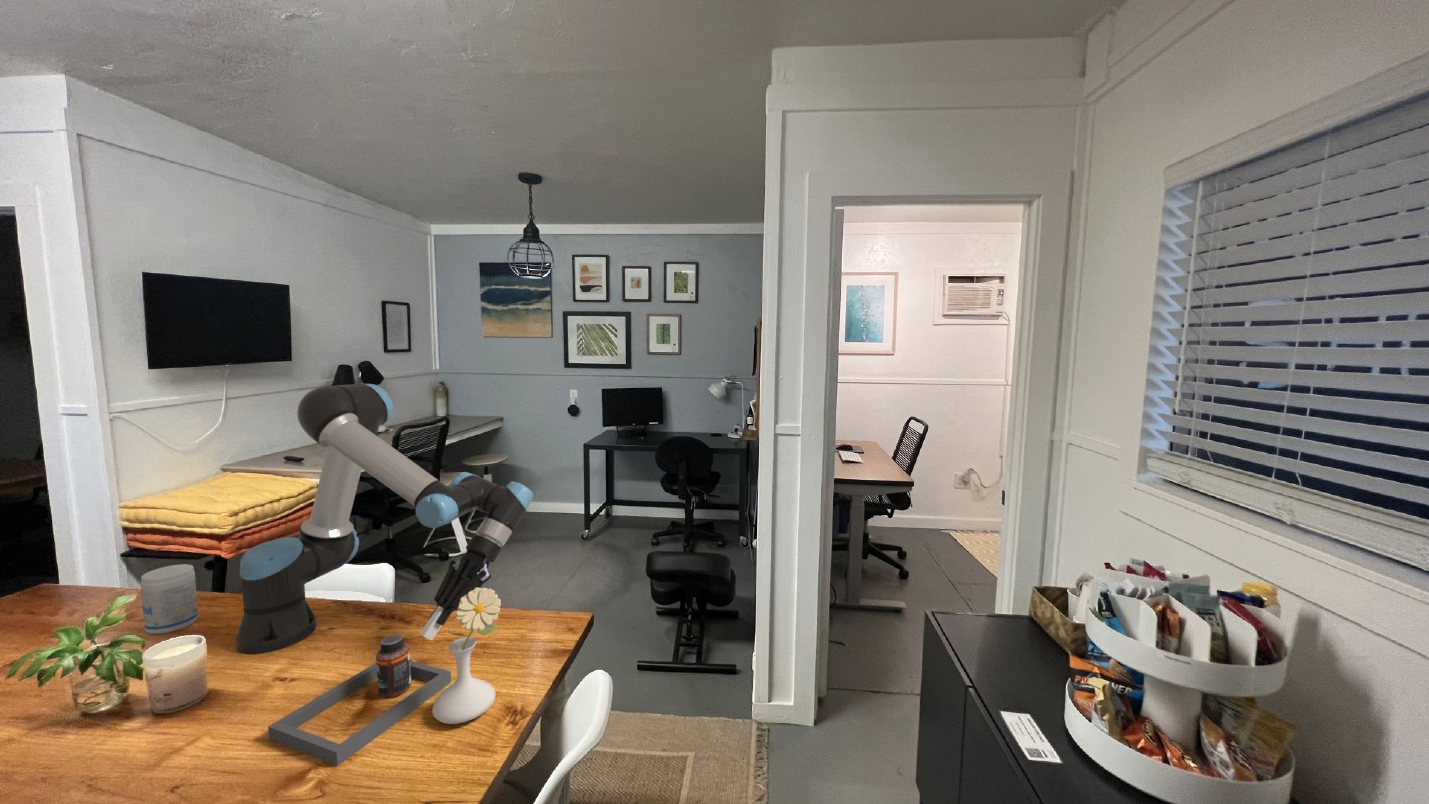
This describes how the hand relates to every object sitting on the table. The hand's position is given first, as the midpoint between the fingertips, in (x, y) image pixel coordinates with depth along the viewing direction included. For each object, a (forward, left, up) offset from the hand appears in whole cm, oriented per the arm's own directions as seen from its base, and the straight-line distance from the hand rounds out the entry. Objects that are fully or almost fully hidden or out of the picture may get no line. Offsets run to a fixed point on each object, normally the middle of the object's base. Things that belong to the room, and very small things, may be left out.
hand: (425, 637), depth 114 cm
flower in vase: (+18, -6, -8) cm, 21 cm away
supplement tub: (-78, -8, -8) cm, 79 cm away
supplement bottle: (-1, -7, -8) cm, 11 cm away
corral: (-1, -13, -8) cm, 15 cm away
